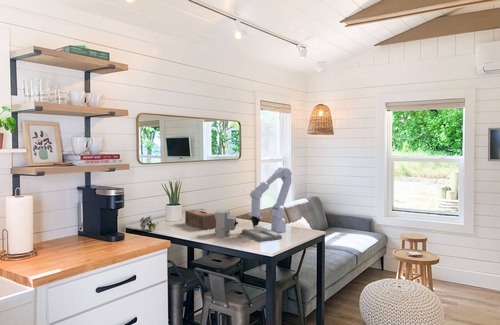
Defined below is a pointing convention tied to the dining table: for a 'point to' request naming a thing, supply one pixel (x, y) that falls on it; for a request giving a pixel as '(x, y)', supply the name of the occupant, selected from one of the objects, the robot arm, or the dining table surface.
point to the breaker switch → (257, 228)
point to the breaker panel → (261, 234)
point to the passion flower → (147, 223)
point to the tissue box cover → (200, 219)
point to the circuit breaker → (224, 222)
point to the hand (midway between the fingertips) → (255, 228)
